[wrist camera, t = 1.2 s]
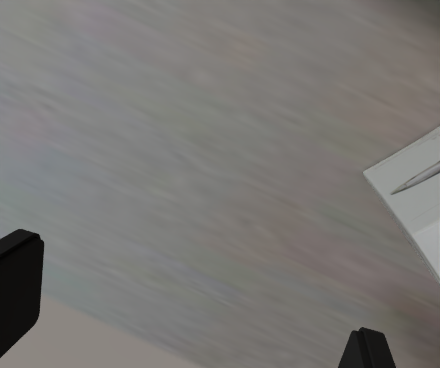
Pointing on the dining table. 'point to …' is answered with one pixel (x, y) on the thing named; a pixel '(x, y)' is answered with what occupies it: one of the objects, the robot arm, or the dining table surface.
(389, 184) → the supplement box
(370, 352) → the robot arm
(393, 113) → the dining table surface
